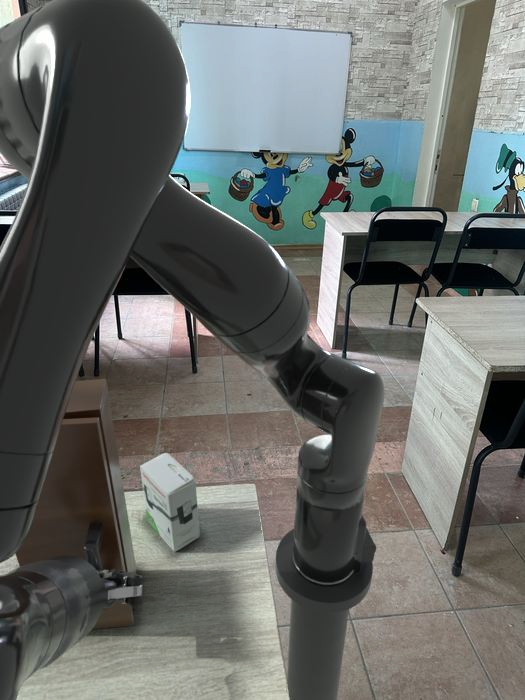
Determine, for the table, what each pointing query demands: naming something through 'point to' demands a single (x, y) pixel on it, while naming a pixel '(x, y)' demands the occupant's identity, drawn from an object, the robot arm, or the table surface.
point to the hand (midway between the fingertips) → (102, 578)
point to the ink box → (170, 501)
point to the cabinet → (94, 403)
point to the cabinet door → (79, 510)
